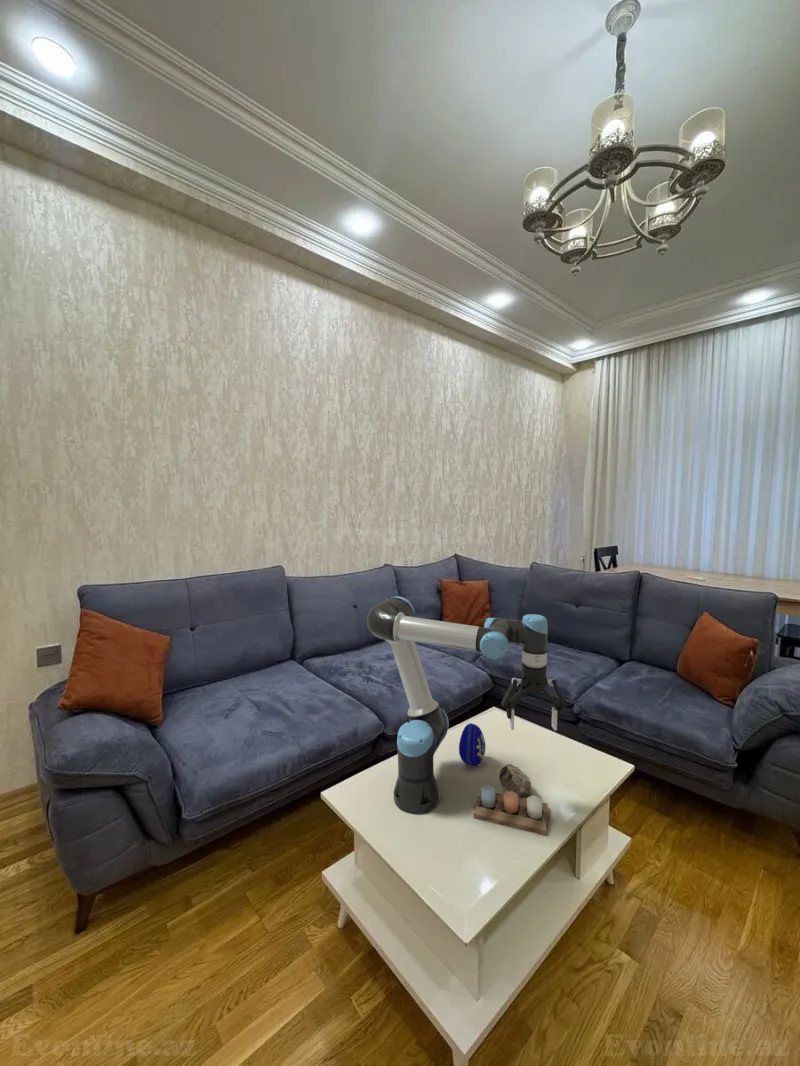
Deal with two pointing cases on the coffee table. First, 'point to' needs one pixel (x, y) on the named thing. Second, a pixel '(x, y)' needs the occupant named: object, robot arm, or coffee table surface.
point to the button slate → (488, 797)
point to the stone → (515, 781)
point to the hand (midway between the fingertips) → (532, 728)
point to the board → (509, 819)
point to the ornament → (472, 745)
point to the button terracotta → (511, 802)
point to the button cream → (534, 807)
